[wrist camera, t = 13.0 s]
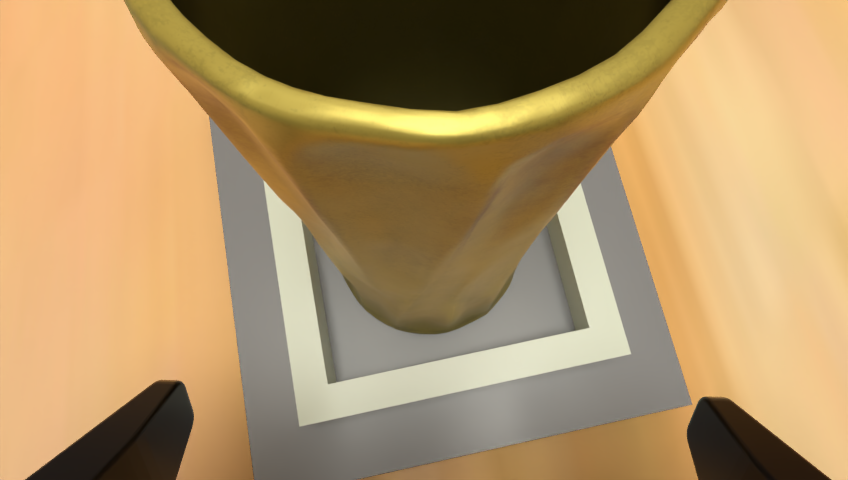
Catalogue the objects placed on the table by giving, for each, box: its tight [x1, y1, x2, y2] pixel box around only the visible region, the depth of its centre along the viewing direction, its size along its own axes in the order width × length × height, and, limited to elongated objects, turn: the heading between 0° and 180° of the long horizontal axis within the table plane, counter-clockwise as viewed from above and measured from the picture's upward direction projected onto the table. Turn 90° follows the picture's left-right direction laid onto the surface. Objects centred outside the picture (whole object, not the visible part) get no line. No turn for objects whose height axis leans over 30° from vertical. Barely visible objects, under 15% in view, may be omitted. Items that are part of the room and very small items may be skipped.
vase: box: [124, 0, 727, 334], centre depth 11 cm, size 6×6×14 cm
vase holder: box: [209, 117, 692, 480], centre depth 17 cm, size 14×14×2 cm
